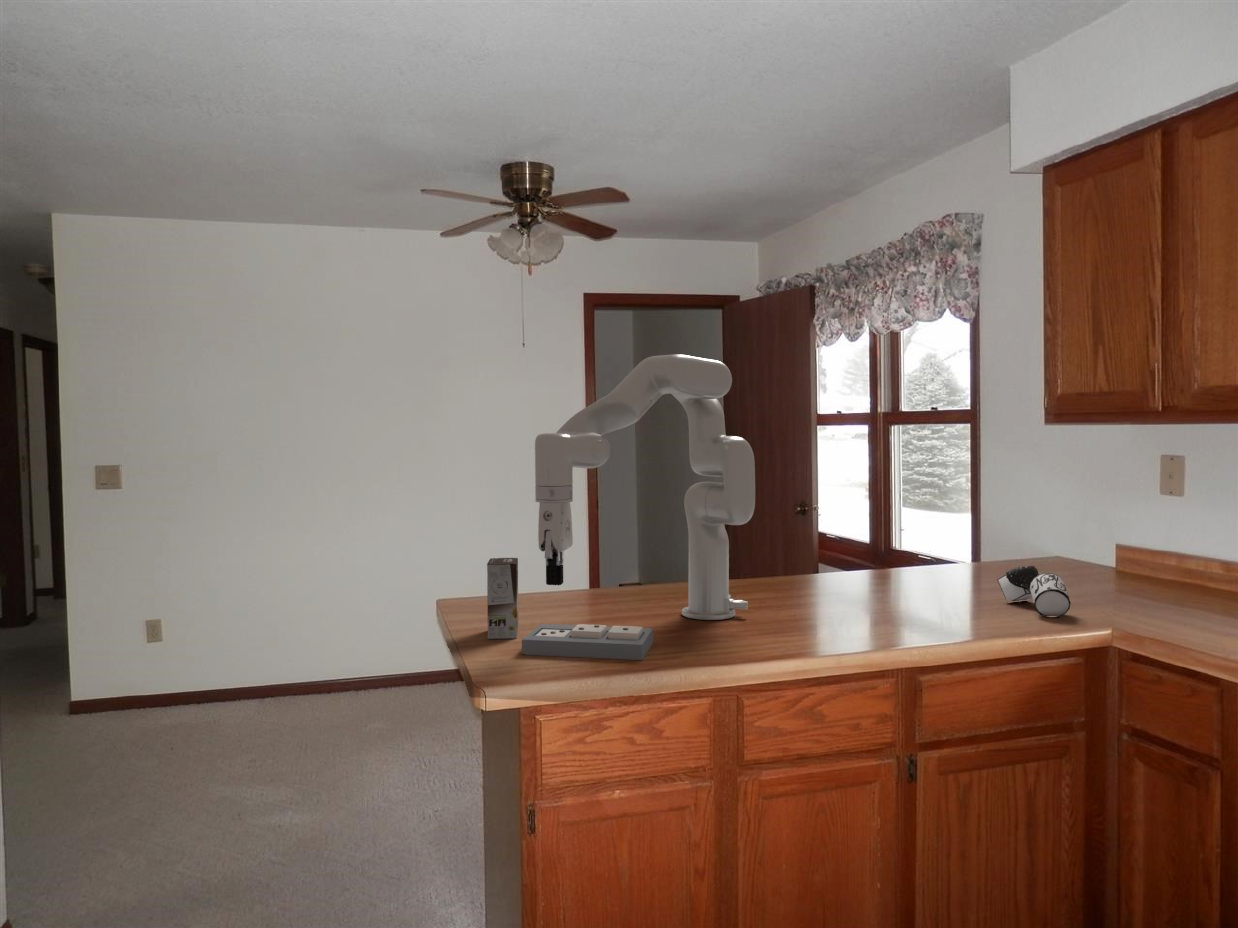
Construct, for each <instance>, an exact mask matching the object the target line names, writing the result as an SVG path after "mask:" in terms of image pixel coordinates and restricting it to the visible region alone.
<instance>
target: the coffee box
mask: <svg viewBox="0 0 1238 928" xmlns="http://www.w3.org/2000/svg"><path fill="white" fill-rule="evenodd" d="M486 566H487V567H486V569H487V570H486V573H487V581H486V582H487V586H486V587H487V588H486V589H487V590H486V591H487V592H486V593H487V597H486V598H487V639H489V640H494V639H495V640H497V639H505V640H506V639H517V637H518V632H519V559H518V557H498V558H497V557H496V558H495V557H492V558H490V559H489V560H488V562H487V563H486Z"/></svg>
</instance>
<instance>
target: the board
mask: <svg viewBox="0 0 1238 928" xmlns="http://www.w3.org/2000/svg"><path fill="white" fill-rule="evenodd" d="M577 625H578V624H577ZM577 625H576V624H575V625H573V624H550V623H541V624H539V625H538V626H537V627H535V628H534V629H533V630H532V631H530V632H529V634H527V635H526V636H525V637H523V638H522V639H521V655H522V654H525V655H526V656H542V657H543V656H544V657H545V656H546V657H547V656H548V657H567V658H568V657H569V658H586V659H587V658H588V659H589V658H590V659H606V660H607V659H609V660H610V659H611V660H631V661H633V660H634V661H643V660H644V658H645V656H646V655H647V653H648V652H649V650H650V648H651V647H652V645H653V643H654V628H652V627H650V628H648V627H643V636H642V637H641V639H640V640H626V639H608V632H609V631H610V629H611V628H612V627H613V626H607V633H606V635H605V636H604V637H603V638H579V637H571V632H570V633H569V634H568V635H567V636H566V637H556V636H535V635H536V634H538V633H539V632H540V631H541V630H542V629H552V630H572V629H573V628H575V627H576V626H577ZM525 655H524V656H525Z"/></svg>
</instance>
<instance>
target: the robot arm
mask: <svg viewBox="0 0 1238 928" xmlns="http://www.w3.org/2000/svg"><path fill="white" fill-rule="evenodd" d="M732 383H733V377H732V372H731V371H730V369H729V367H728V366H727V365H726V364H725V363H724V362H721V361H719V360H716V359H710V358H703V357H698V356H691V355H686V354H678V353H677V354H675V353H674V354H662V355H652V356H648V357H646V358H644V359H643V360H641V361H640V362H639V363H638V364H637V365H636V366H635V367H634V368H633V369H632V370H631V371H630V372H629V373H628V374H627V375H626V376H625V377H624V379H622V381H621V382H619V384H617V385H616V386H615V388H614V389H612V390H611V391H610V392H609V393H607V395H604V396H603V397H601V398H600V399H598V400H596V401H594V402H592V403H591V404H590V405H587V406H586V407H584V408H583V409H582V410H580V411H578V412H577V413H575V414H573V416H571V417H570V418H568V420H567V421H566V422H565V423H564V424H563V425H562V426H560V428H559V429H558V430H557V431H556V432H552V433H549V432H548V433H540V434H538V435H537V436H536V437H535V439H534V460H535V461H534V463H535V464H534V468H535V469H534V470H535V472H534V473H535V478H534V479H535V491H534V492H535V493H534V494H535V503H539V507H538V508H539V509H538V525H537V526H538V531H537V532H538V533H537V536H538V537H537V538H538V539H537V541H538V549H539V550H540V551H541V552H544V559H545V585H547V586H561V585H563V584H564V551H567V550H568V549H570V548H571V547H572V546H573V544H574V543H573V538H574V537H573V521H572V519H573V518H572V507H571V503H572V502H574V501H573V500H574V499H573V498H574V497H573V496H574V495H573V494H574V493H573V488H574V487H573V482H574V480H573V468H579V469H596V468H599V467H601V466H603V465H605V464H606V462H608V460H609V458H610V456H611V445H610V442H609V440H608V438H607V437H605V436H604V435H605V434H608V433H611V432H614V431H618V430H622V429H625V428H627V427H629V426H631V425H634V424H635V423H637V422H638V421H639V420H640V419H641V418H643V416H645V414H646V413H647V411H648V410H649V409H650V408H652V407H653V405H654V404H655V403H656V402H657V401H658V400H659V399H661V397H662V396H663V395H668V394H670V395H672V396H673V397H674V398H675V399H676V400H677V401H678V402H679V403H680V405H681V406H682V407H683V409H684V411H685V413H686V416H687V421H688V440H689V441H688V443H689V445H688V447H689V449H688V450H689V451H688V453H689V464H690V467H691V470H692V471H693V472H694V473H695V474H697V475H699V476H704V477H714V478H716V477H717V478H718V477H719V478H722V479H723V482H720V481H719V482H718V481H700V482H696V483H694V484H692V485H691V486H689V488H688V489H687V490H686V491H685V495H684V498H683V499H684V500H683V504H684V505H683V507H684V512H685V517H686V523H687V531H688V533H687V534H688V535H687V536H688V587H687V589H688V590H687V591H688V593H687V594H688V597H687V598H688V606H685V607H683V608H682V609H681V615H682V616H684V617H685V618H688V619H694V620H702V621H703V620H704V621H721V620H727V619H732V618H733V617H735V616H736V610H748V609H749V607H748V606H749V603H748V601H747V600H746V601H745V600H743V599H737V600H735V599H733V598H731V597H732V595H731V594H730V593H729V591H730V589H729V587H730V581H729V579H730V577H729V572H730V571H729V569H730V563H729V561H730V560H729V558H730V556H729V555H730V551H729V550H730V541H729V535H728V532H727V530H726V528H725V525H728V526H729V525H730V526H741V525H745V524H747V523H748V522H749V521H751V519H752V517H753V515H754V512H755V508H756V466H755V464H756V462H755V455H754V451H753V448H752V446H751V445H750V443H749V442H748V440H746V439H745V438H743V437H742V436H741V437H740V436H736V435H734V436H733V435H727V434H726V433H727V432H726V424H725V423H726V421H725V413H724V409H723V406H722V404H721V403H720V401H719V399H721V398H722V397H724V396H725V395H727V394H728V393H729V391H730V389H731V388H732Z"/></svg>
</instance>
